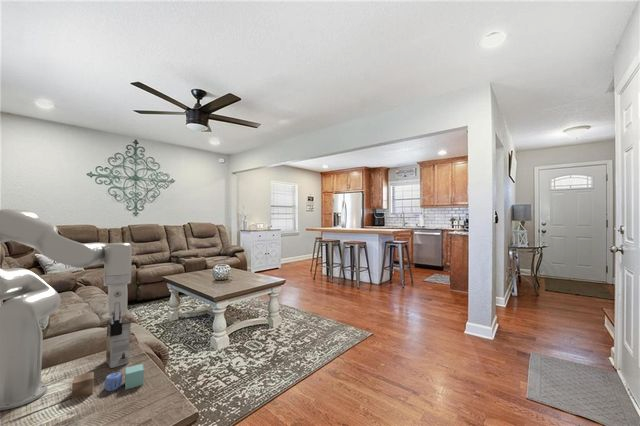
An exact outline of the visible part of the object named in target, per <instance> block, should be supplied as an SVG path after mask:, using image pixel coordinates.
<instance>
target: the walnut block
mask: <svg viewBox="0 0 640 426" xmlns="http://www.w3.org/2000/svg"><path fill="white" fill-rule="evenodd" d="M94 378H95V371H91V372H87V373H84V374H82V373H81V374H78V375H75V376H73V380H72V385H71V387H72V388H71V401H72V400H76V399H80V398H84V397H87V396H88V397H89V396H91V395H93V393H94V392H93V391H94V382H95V381H94Z"/></svg>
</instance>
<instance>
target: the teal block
mask: <svg viewBox="0 0 640 426" xmlns="http://www.w3.org/2000/svg"><path fill="white" fill-rule="evenodd" d="M124 370H125V373H124V386H125V387H124V388H125V390H129V389H132V388H136V387H140V386H143V385H144V379H145V378H144V376H145V375H144V373H145V369H144V364H143V363H141V364H136V365H133V366H127V367H125V369H124Z"/></svg>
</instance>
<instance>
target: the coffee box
mask: <svg viewBox="0 0 640 426" xmlns="http://www.w3.org/2000/svg"><path fill="white" fill-rule="evenodd" d="M111 321H112V318H110V319H108V320H107V322H106V323H107V325H106V326H107V327H106V347H105V348H106V349H105V350H106V352H105V361H106V364H107V365H108V367H109V369H114V368H116V367H120V366H123V365H126V364H130V351H131V350H130V349H131V348H130V347H131V344H130V341H131V328H132V327H131V323H132V322H131V321H130V319H129V318H128V317H127V316H122V334H121V335H117V336H110V324H111Z"/></svg>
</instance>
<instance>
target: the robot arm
mask: <svg viewBox="0 0 640 426" xmlns="http://www.w3.org/2000/svg"><path fill="white" fill-rule="evenodd" d="M11 241H12V242H15V243H18V244H21V245H24V246H26V247H29V248H32V249H34V250H36V251H37V252H38V253H39V254H41V255H42V256H43V257H44V258H46V259H49V260H51V261H52V262H53V261H54V262H57V263H59V264H62V265H65V266H68V267H70V268H77V269H83V268H84V269H85V268H88V267H92V266H97V265H102V264H103V266H104V267H103V286H104V287H107V306H108V307H107V308H108V314H109V316H110V317H111V319H112V321H111V324H110V336H117V335H121V334H122V317H123V314H124V315H127V314H128V285H129V284H131V282H132V254H133V253H132V252H133V249H132V245H131V243H129V242H112V243H106V242H88V243H81V242H79V241H76V240H72V239H70V238H68V237H65V236H62V235H60V234H59V229H58V227H57V226H56V225H54V224H51V223H49V222H46V221H43V220H42V219H41V218H40V217H39V215H37V214H36V213H34V212H32V211H30V210H22V209H21V210H20V209H10V208H8V209H7V208H5V209H4V208H2V209H0V244H3V243H7V242H11ZM1 301H4V302H3V303H2V304H1V305H0V411H6V410H10V409H15V408H18V407H22V406H23V405H27V404H29V403H31V402H33V401H35V400H37V399H39V398H41V397H42V396H43V395H44V394H46V392H47V391H48V386H47V384H45V383H41V382H42V381H41V380H42V365H43V364H42V360H43V344H44V343H43V342H44V341H43V340H44V335H43V333H44V332H43V329H42V326H41V325H40V320H43V319H44V318H46V317H49V316H51V315H53V314H54V313H55V312H57V311H58V309H59V308H60V307H61V303H62V298H61V296H60V294H59V293H58V291H57V290H56V289H54V288H53V287H52V286H50V285H49V284H48V283H47V282H46V281H45V280H44V279H42V278H41V277H40V276H39V275H38V274H36V273H34V272H33V271H32V270H29V269H27V268H23V267H22V268H21V267H12V268H11V267H10V268H6V269H5V268H1V267H0V302H1Z"/></svg>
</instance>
